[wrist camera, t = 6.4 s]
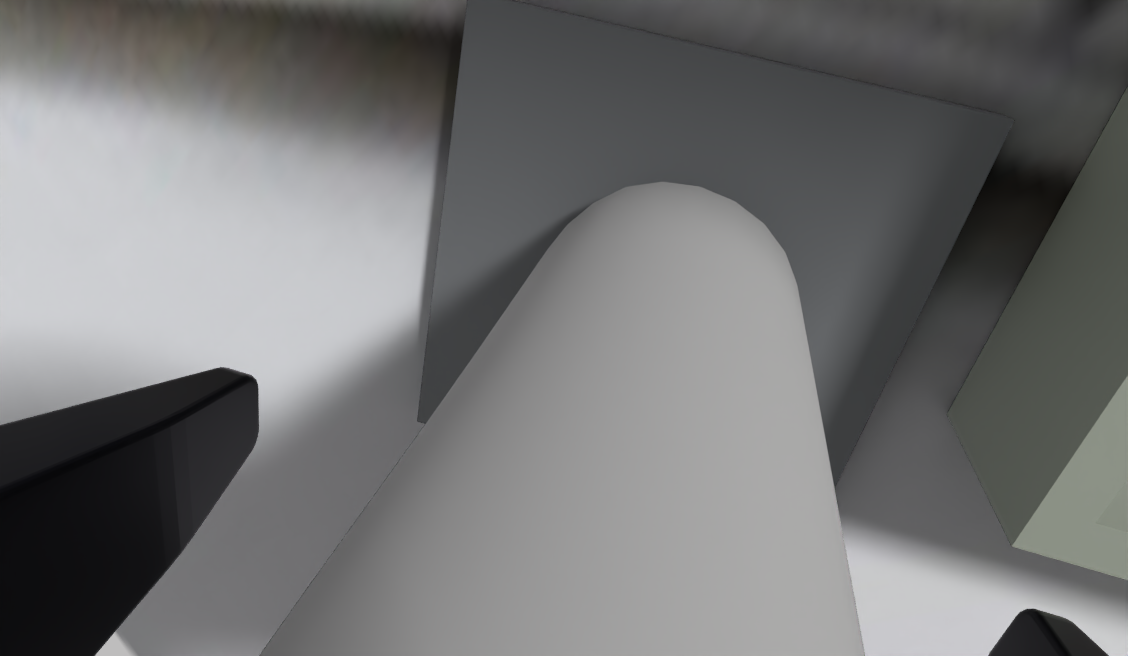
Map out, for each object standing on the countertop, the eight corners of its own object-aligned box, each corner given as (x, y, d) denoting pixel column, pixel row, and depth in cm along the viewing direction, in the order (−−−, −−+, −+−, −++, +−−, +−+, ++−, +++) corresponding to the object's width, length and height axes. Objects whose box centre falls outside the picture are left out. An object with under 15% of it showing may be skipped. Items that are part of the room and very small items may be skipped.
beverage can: (817, 385, 14) (1075, 1749, 3) (582, 421, 15) (235, 1415, 5) (768, 140, 12) (976, 1395, 1) (508, 209, 13) (-312, 1049, 3)
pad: (807, 522, 16) (810, 538, 15) (425, 409, 17) (417, 421, 16) (1003, 114, 11) (1014, 120, 11) (477, -9, 12) (468, -8, 12)
